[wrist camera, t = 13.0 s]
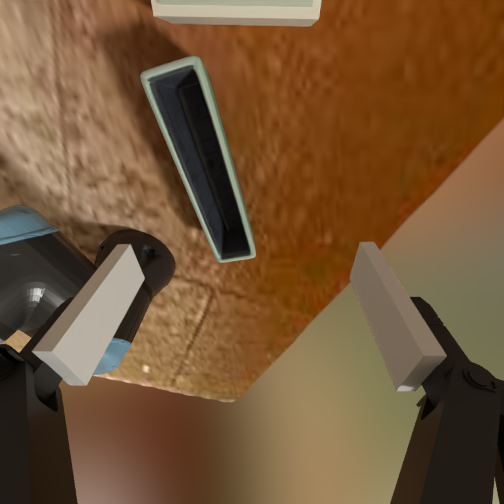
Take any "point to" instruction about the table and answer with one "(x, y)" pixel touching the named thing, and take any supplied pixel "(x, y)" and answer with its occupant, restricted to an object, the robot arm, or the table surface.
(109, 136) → the table surface
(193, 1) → the cream box
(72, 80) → the table surface
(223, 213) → the planter
